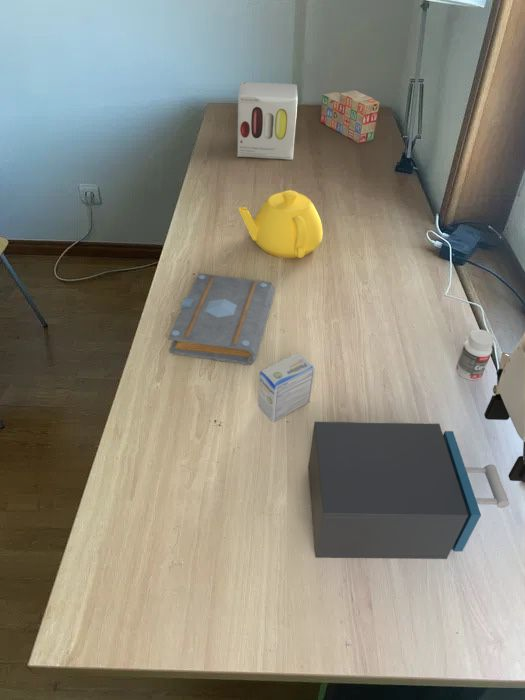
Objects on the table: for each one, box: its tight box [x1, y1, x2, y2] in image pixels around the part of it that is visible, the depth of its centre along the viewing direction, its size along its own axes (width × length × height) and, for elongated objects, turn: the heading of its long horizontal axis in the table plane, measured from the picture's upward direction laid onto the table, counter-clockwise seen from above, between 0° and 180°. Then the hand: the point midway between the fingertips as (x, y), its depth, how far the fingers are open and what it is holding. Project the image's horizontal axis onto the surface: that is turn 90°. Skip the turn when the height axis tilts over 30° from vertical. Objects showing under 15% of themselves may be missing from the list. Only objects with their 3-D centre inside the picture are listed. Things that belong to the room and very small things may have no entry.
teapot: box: [238, 189, 323, 259], centre depth 129 cm, size 20×19×13 cm
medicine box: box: [258, 352, 315, 423], centre depth 92 cm, size 8×4×9 cm, turn 126°
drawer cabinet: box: [307, 421, 468, 560], centre depth 77 cm, size 18×15×11 cm
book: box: [167, 272, 276, 366], centre depth 109 cm, size 21×16×5 cm
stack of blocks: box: [319, 89, 381, 145], centre depth 185 cm, size 21×6×12 cm, turn 32°
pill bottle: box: [455, 329, 495, 381], centre depth 100 cm, size 5×5×8 cm
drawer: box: [443, 430, 510, 552], centre depth 77 cm, size 22×13×9 cm, turn 90°
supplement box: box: [236, 81, 299, 161], centre depth 169 cm, size 17×13×18 cm
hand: (507, 446), depth 71 cm, fingers open, 9 cm apart
